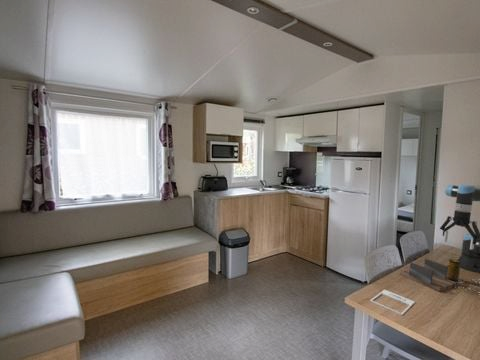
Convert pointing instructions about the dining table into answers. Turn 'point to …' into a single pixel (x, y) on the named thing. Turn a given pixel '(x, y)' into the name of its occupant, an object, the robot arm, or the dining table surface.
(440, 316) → the dining table surface
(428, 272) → the tray
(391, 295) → the photo frame
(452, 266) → the condiment
